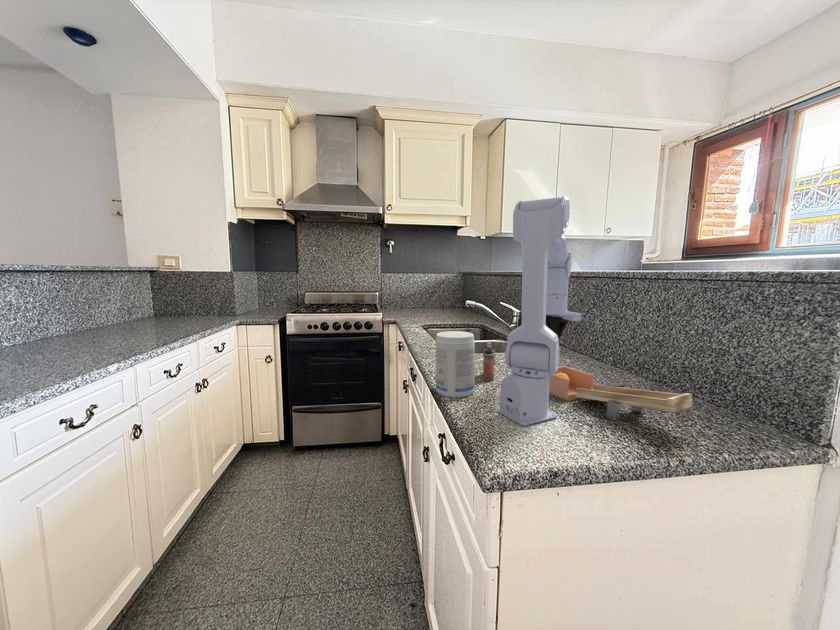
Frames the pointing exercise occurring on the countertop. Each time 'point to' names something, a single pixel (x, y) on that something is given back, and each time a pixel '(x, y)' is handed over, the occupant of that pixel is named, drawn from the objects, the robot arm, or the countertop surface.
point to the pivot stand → (619, 410)
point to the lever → (637, 397)
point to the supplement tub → (455, 363)
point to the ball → (563, 375)
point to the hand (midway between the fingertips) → (553, 344)
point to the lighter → (488, 362)
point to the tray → (564, 388)
